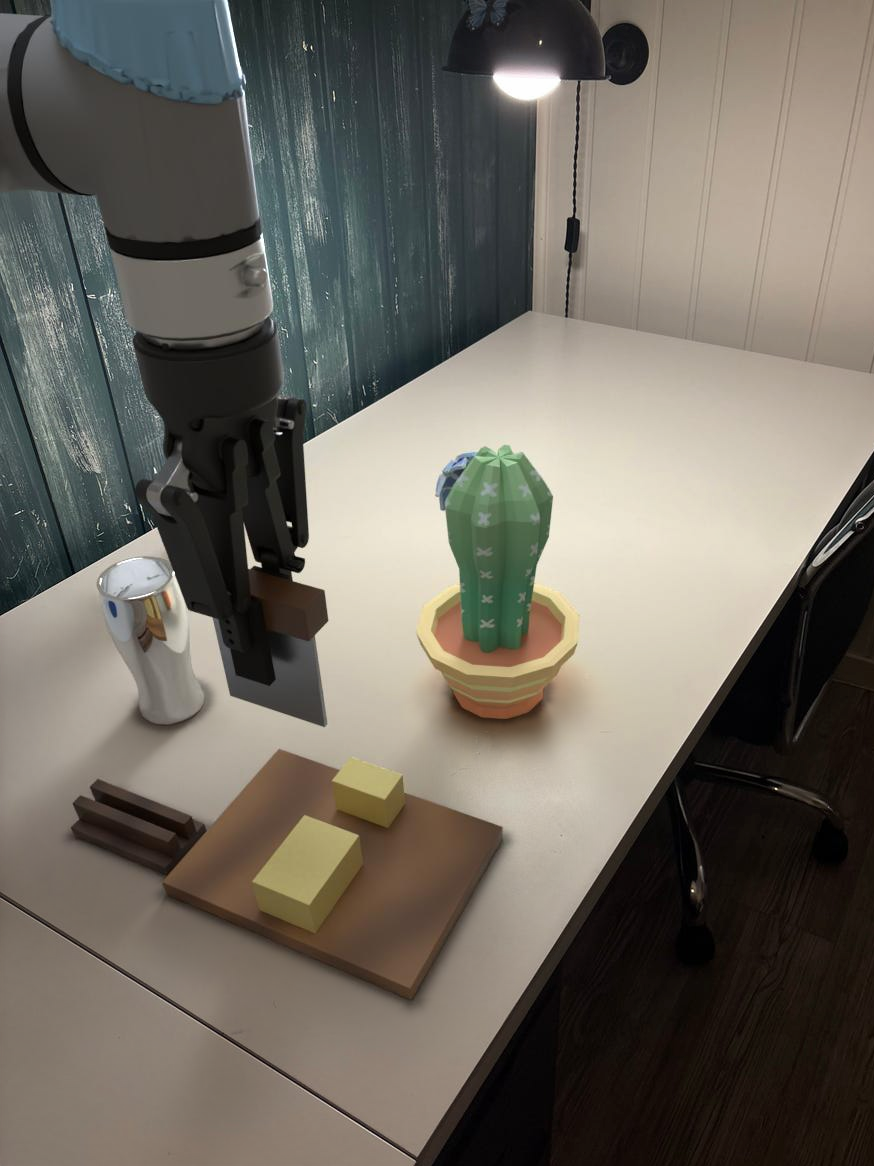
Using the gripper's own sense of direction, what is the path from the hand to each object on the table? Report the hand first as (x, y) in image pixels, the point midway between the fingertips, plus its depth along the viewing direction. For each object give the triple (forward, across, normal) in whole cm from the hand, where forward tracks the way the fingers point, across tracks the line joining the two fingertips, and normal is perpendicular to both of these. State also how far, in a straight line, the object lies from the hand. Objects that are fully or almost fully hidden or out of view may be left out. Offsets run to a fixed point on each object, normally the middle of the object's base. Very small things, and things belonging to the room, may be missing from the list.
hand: (268, 663), depth 65 cm
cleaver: (+4, 0, 0) cm, 4 cm away
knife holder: (+21, -4, +14) cm, 25 cm away
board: (+21, 0, -3) cm, 21 cm away
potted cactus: (+21, +25, -6) cm, 33 cm away
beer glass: (+21, +10, +22) cm, 32 cm away
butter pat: (+19, +6, -3) cm, 20 cm away
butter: (+19, -3, -3) cm, 20 cm away
